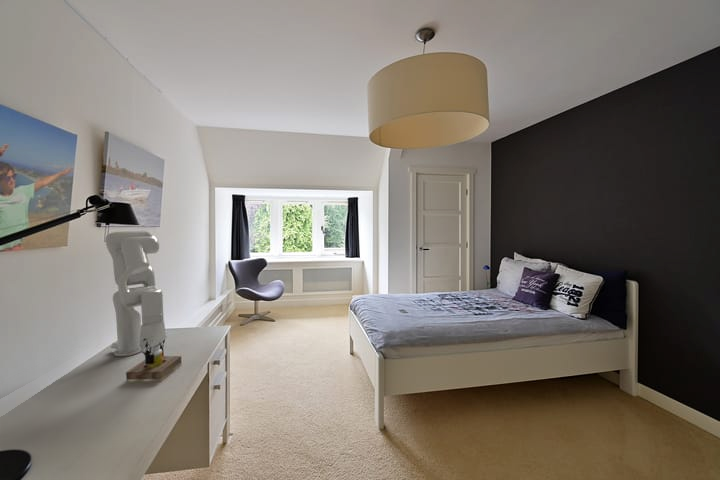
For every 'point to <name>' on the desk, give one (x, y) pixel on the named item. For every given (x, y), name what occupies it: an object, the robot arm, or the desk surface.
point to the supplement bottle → (156, 357)
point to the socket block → (153, 370)
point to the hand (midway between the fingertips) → (154, 359)
